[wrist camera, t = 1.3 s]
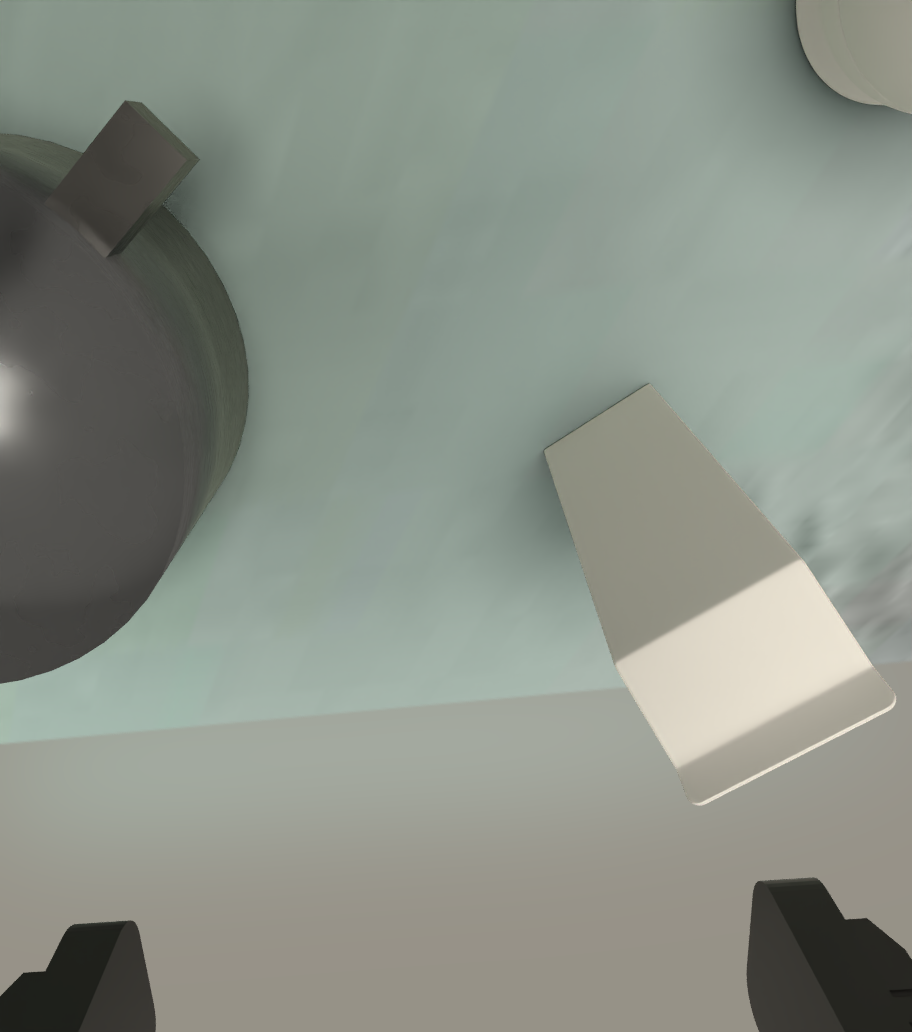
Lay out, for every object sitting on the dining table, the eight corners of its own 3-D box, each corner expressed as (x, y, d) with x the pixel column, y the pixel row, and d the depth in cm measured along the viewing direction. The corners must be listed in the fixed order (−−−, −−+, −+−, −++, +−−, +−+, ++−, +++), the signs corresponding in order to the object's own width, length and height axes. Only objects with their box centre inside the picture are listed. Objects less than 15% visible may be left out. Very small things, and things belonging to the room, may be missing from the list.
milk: (707, 478, 43) (952, 781, 23) (602, 541, 44) (744, 882, 24) (647, 379, 41) (858, 615, 20) (538, 448, 42) (635, 735, 22)
